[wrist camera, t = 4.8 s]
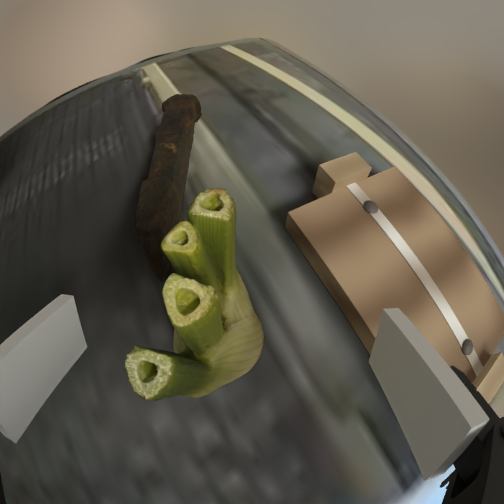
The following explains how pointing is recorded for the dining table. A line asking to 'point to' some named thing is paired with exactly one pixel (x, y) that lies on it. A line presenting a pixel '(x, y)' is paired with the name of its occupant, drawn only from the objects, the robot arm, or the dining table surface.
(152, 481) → the dining table surface
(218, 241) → the fennel bulb
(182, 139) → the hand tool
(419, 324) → the tan wooden board
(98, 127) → the dining table surface
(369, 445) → the dining table surface
